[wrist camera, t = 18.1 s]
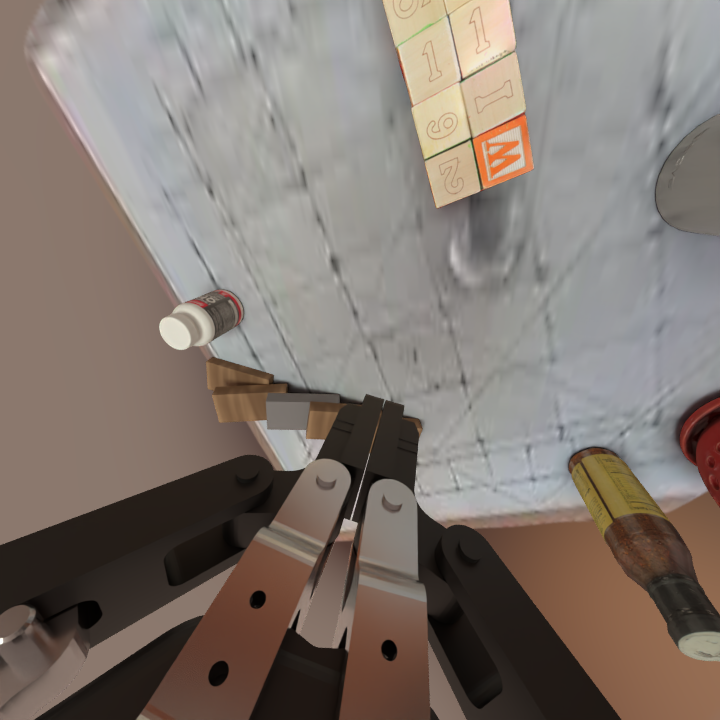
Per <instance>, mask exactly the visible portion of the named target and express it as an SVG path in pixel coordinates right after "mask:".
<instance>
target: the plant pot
mask: <svg viewBox="0 0 720 720" xmlns="http://www.w3.org/2000/svg"><path fill="white" fill-rule="evenodd" d="M680 447H681V449H682V452H683V454H684V455H685V457H686V458H687V459H688V460H689V461H690V462H692V463H693V464H694V465H696V466H697V467H698V470H699V473H700V475H701V477H702V480H703V482H704V484H705V486H706V487H707V489H708V491H709V492H710V494H711V496H712V497H713V499H714V500H715V501H716V503H717V504H718V506H719V507H720V397H719V398H717V399H715V400H712V401H710V402H708V403H707V404H705V405H703V406H702V407H700V408H699V409H698V410H696V411H695V412H694V413H693V414H692V415H691V416H690V417H689V418H688V419H687V421H686V422H685V423H684V425H683V427H682V430H681V433H680Z"/></svg>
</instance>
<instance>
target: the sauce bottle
mask: <svg viewBox="0 0 720 720" xmlns="http://www.w3.org/2000/svg"><path fill="white" fill-rule="evenodd" d="M569 472H570V473H571V475H572V479H573V481H574V483H575V485H576V487H577V489H578V491H579V493H580V495H581V497H582V499H583V500H584V502H585V504H586V506H587V508H588V510H589V512H590V514H591V515H592V517H593V519H594V521H595V523H596V525H597V527H598V529H599V531H600V533H601V534H602V536H603V538H604V540H605V542H606V544H607V545H608V546H609V547H610V548H611V551H612V553H613V555H614V557H615V558H616V560H617V562H618V564H619V565H620V566H621V567H622V569H623V570H624V572H625V573H626V574H627V576H628V577H630V578H631V579H632V580H634V581H635V582H636V583H637V584H638V585H640V586H641V587H642V588H643V589H644V590H646V591H647V592H648V593H649V595H650V597H651V598H652V599H653V600H654V602H655V604H656V606H657V608H658V609H659V611H660V613H661V614H662V616H663V617H664V619H665V621H666V623H667V627H668V633H669V635H670V636H671V637H672V639H673V641H674V642H675V644H676V645H677V647H678V649H679V650H680V651H681V652H683V653H684V654H685V655H687V656H689V657H691V658H695V659H698V660H704V661H720V615H719V613H718V612H717V610H716V609H715V608H714V606H713V605H712V603H711V602H710V601H709V599H708V597H707V596H706V595H705V592H704V590H703V588H702V587H701V586H700V584H699V583H698V580H697V577H696V573H695V570H694V567H693V562H692V556H691V553H690V551H689V550H688V548H687V546H686V544H685V543H684V541H683V539H682V538H681V536H680V534H679V533H678V532H677V530H676V529H675V527H674V526H673V525H672V523H671V522H670V521H669V520H668V518H667V517H666V516H665V514H664V513H663V512H662V510H661V509H660V508H659V506H658V505H657V504H656V502H655V501H654V500H653V498H652V497H651V496H650V494H649V493H648V492H647V491H646V489H645V488H644V487H643V485H642V484H641V483H640V482H639V480H638V479H637V478H636V477H635V475H634V474H633V473H632V471H631V470H630V469H629V467H628V466H627V465H626V463H625V462H624V461H622V460H621V459H620V458H619V457H618V456H617V455H616V454H615V453H613V452H611V451H609V450H606V449H602V448H590V449H586V450H584V451H581V452H579V453H577V454H575V455H574V456H573V457H572V458H571V460H570V463H569Z"/></svg>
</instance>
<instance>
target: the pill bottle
mask: <svg viewBox="0 0 720 720" xmlns="http://www.w3.org/2000/svg"><path fill="white" fill-rule="evenodd" d="M242 318H243V307H242V305H241V303H240V301H239V299H238V298H237V297H236V296H235V295H234V294H232V293H231V292H229V291H226V290H215V291H213V292H210V293H208V294H205V295H203V296H200V297H197V298H195V299H193V300H190V301H187V302H185V303H182V304H180V305H179V306H177V307H176V308H175V309H174V311H173V313H172V314H171V315H169V316H167V317H165V318H163V319H162V320H161V322H160V327H159V329H160V333H161V335H162V337H163V339H164V340H165V341H166V342H167V344H169V345H170V346H171V347H173V348H175V349H178V350H184V349H187V348H189V347H191V346H203V345H206V344H208V343H210V342H211V341H213V340H214V339H216V338H217V337H219V336H221V335H222V334H224V333H226V332H227V331H229V330H230V329H232V328H234V327H235V326H237V325H238V324H239V323H240V322H241V321H242Z"/></svg>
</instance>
